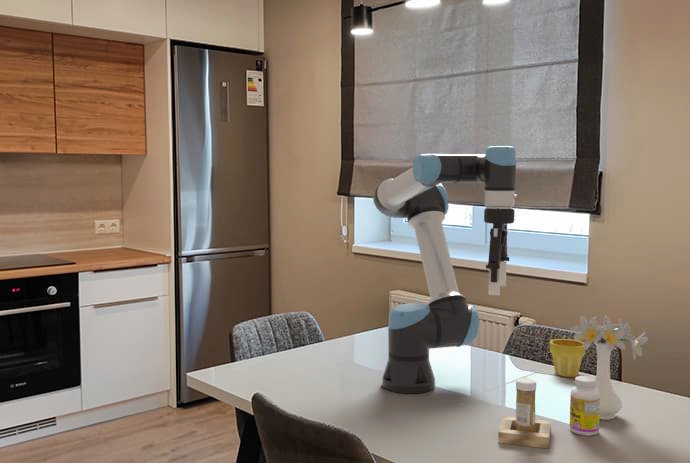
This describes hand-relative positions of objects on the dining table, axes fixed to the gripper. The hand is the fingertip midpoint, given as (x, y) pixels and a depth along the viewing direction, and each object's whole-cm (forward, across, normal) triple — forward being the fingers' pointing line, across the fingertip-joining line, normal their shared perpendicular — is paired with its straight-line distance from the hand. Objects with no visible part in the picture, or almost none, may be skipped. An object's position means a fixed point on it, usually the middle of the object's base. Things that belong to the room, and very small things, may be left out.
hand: (497, 290), depth 181 cm
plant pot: (+32, +39, -17) cm, 53 cm away
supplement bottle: (+31, -10, -22) cm, 39 cm away
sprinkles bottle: (+31, -18, -9) cm, 37 cm away
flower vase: (+31, +3, -27) cm, 41 cm away
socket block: (+31, -18, -9) cm, 37 cm away
